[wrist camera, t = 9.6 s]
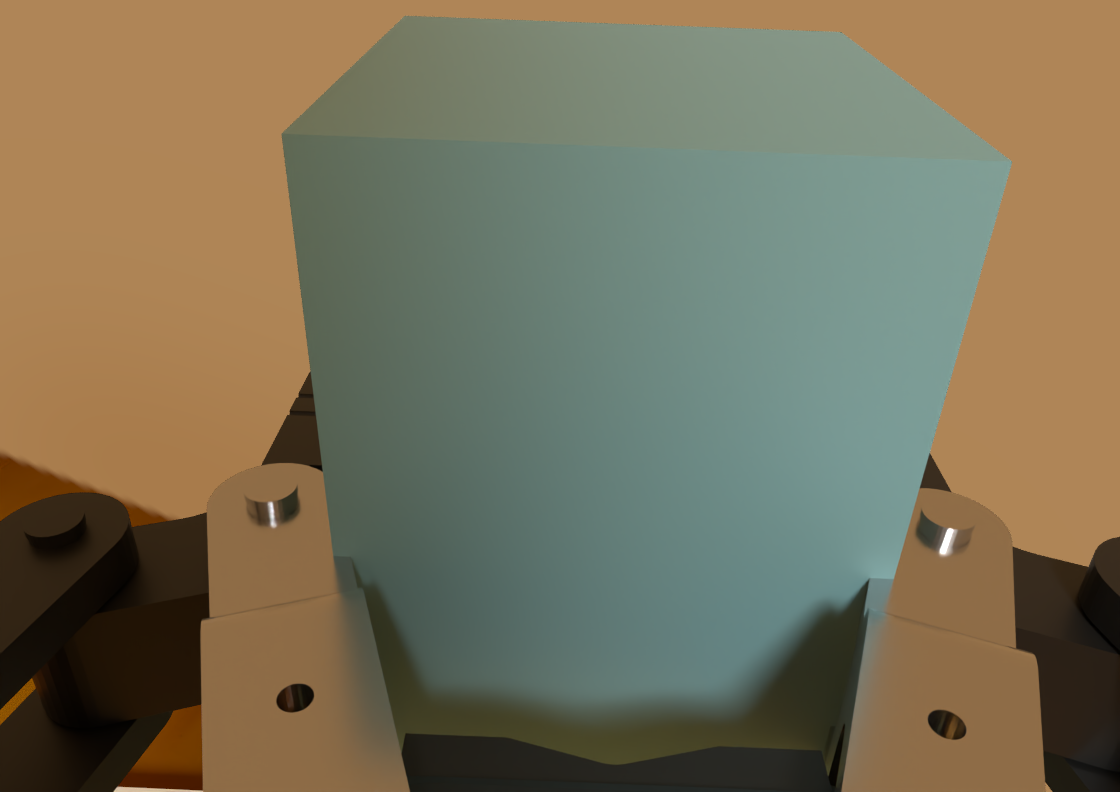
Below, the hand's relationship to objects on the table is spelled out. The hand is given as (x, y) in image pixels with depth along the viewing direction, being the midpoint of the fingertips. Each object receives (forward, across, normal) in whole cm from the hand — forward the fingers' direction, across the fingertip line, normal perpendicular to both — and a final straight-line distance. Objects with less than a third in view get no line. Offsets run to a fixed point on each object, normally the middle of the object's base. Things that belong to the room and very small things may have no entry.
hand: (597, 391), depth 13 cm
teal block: (-3, 0, +7) cm, 7 cm away
